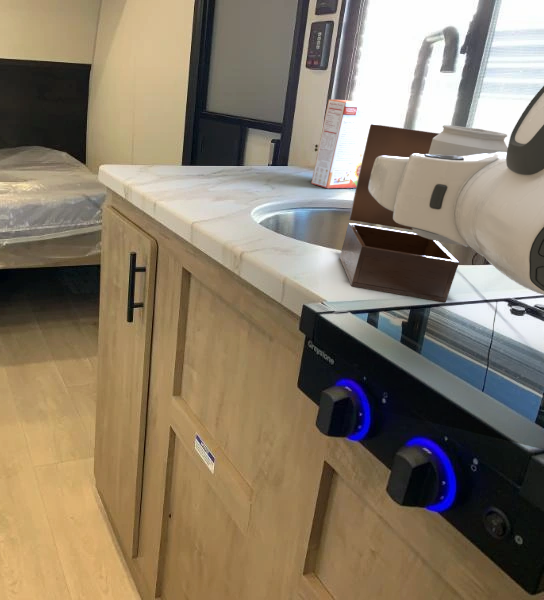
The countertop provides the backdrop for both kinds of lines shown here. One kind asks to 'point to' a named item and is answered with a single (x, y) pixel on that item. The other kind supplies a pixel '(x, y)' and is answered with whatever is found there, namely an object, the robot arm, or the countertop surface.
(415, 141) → the lid
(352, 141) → the cracker box
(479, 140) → the can
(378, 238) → the chest
